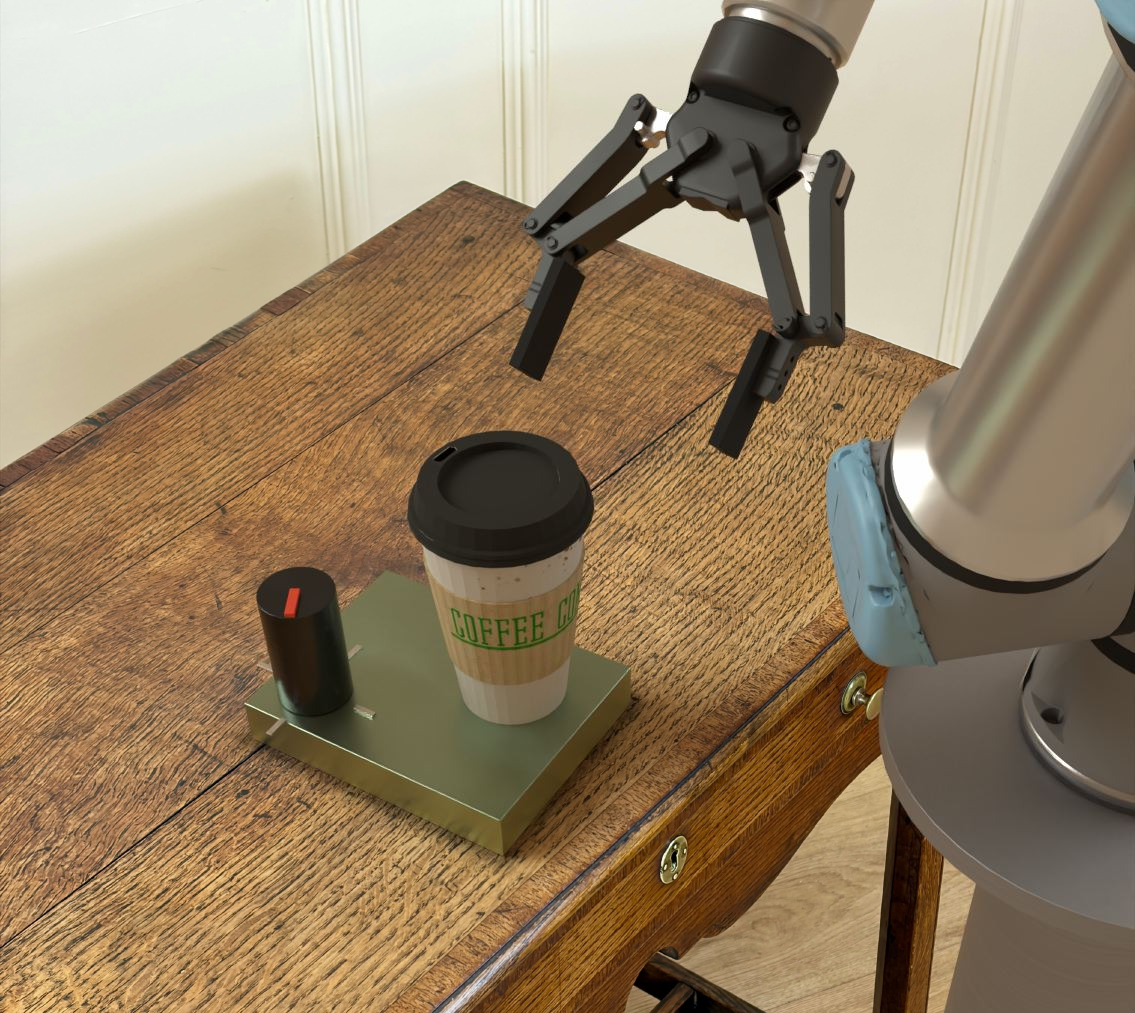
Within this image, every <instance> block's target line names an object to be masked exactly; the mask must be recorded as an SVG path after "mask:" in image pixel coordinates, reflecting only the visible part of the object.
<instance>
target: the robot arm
mask: <svg viewBox="0 0 1135 1013" xmlns="http://www.w3.org/2000/svg"><path fill="white" fill-rule="evenodd" d="M721 2H722V3H721V5H720V9H721V13H722V16H723V18H721V19H720V20H717V21H716V22H714V23H713V24H712V26H711V29H710V31H709V34H708V36H707V38H706V40H705V43H704V45H703V48H702V50H701V51H700V55H699V57H698V59H697V61H696V64H695V66H694V68H693V71H692V73H691V76H690V80H689V86H688V89H687V90H688V91H687V94H686V98H685V99H684V101H683V103H682V104H681V106H680V107H679V108H678V109H677V110H676V111H675V112H674V113H671V112H668V111H666V110H664V109H662V108H659V107H657V106H655V105H653V104H652V103H651V102H650V100H648V98H647V97H646V96H645V95H644V94H643V93H634V94H632V95H631V96H630V97H629V99H627V101H626V103H625V105H624V107H623V108H622V111H621V112H620V115H619V117H618V119H617V120H616V122H615V123H614V125H613V128H612V129H610V131H609V132H608V133H607V134H606V135H605V136H604V137H603V138H602V139H601V140H600V141H599V142H598V143H597V144H596V145H595V146H594V147H592V149H591V150H590V151H589V152H588V153H587V154H586V155H585V156H584V157H583V158H582V159H581V161H580V162H579V163H578V164H576V165H575V166H574V167H573V169H571V171H570V172H568V173H567V175H566V176H565V177H564V178H563V179H562V180H561V181H560V182H559V183H558V184H557V185H556V186H555V187H554V188H553V189H552V190H551V192H549V193H548V194H547V195H546V197H544V199H542V200H541V202H539V204H538V205H537V206H536V207H534V209H533V210H532V211H531V212H530V213H528V215H527V216H526V217H525V218H524V220H523V223H522V230H523V231H524V232H525V233H526V234H527V235H528V236H529V237H530V238H531V239H532V240H533V241H534V242H535V243H536V244H537V245H538V246H539V247H540V249H541V259H540V261H539V263H538V266H537V268H536V270H535V273H534V276H533V278H532V280H531V282H530V285H529V289H527V292H526V295H525V297H524V304H523V308H524V309H526V310H527V311H528V312H530V313H529V315H528V317H527V319H526V322H525V324H524V327H523V329H522V331H521V334H520V336H519V338H518V340H517V343H516V346H515V348H514V350H513V353H512V354H511V357H510V360H509V361H508V365H509V366H510V367H512V368H514V369H515V370H517V371H519V372H520V373H522V374H524V375H525V376H527V377H528V378H530V379H532V380H535V381H538V382H540V383H541V382H542V380H543V378H544V376H545V373H546V371H547V369H548V366H549V363H550V361H551V359H552V357H553V354H554V352H555V349H556V347H557V345H558V343H559V340H560V337H561V336H562V333H563V331H564V330H565V329H564V328H565V326H566V324H567V321H568V319H569V317H570V314H571V313H572V310H573V308H574V305H575V303H576V300H577V298H578V296H579V293H580V291H581V290H582V287H583V284H584V282H585V279H586V276H585V275H584V274H583V273H582V272H581V269H579V268H580V267H579V265H580V264H582V263H583V262H585V261H587V260H588V259H589V258H591V257H593V256H594V255H595V254H598V253H599V252H600V251H602V250H604V249H605V248H606V247H608V246H609V245H611V244H613V243H614V242H617V240H619V239H620V238H622V237H623V236H625V235H627V234H628V233H629V232H631V231H632V230H634V229H636V228H637V227H639V226H640V225H642V224H643V223H645V222H646V221H649V219H651V218H652V217H655V215H657V214H659V213H660V212H662V211H663V210H666V209H669V210H670V209H675V208H676V207H678V206H679V205H681V204H683V203H684V202H686V203H687V204H688V206H690V207H691V208H692V209H696V210H699V211H702V212H716V213H718V214H720V215H722V216H723V217H724V218H725V219H727V220H730V221H732V222H737V223H740V222H741V220H743V219H745V220H746V222H747V223H748V227H749V230H750V235H751V240H752V242H753V246H754V250H755V255H756V259H757V262H758V266H759V270H760V274H761V279H762V281H763V282H762V283H763V286H764V289H765V294H766V298H767V302H768V305H769V309H770V314H771V317H772V321H773V323H771V324H770V326H771V328H772V330H774V332H775V333H774V334H773V333H772V332H770V331H767V330H765V329H763V328H762V329H761V328H758V329H757V331H756V333H755V335H754V338H753V340H752V342H751V344H750V346H749V349H748V351H747V353H746V356H745V358H744V359H743V362H742V364H741V366H740V369H739V371H738V374H737V376H736V378H735V380H734V382H733V385H732V387H731V389H730V391H729V394H728V396H727V398H726V401H725V403H724V405H723V407H722V409H721V411H720V414H719V415H718V419H717V421H716V423H715V425H714V427H713V430H712V432H711V434H710V436H709V438H708V440H707V444H708V445H709V446H712V447H713V448H714V449H716V450H717V451H719V452H720V453H722V454H723V455H724V456H727V457H729V458H731V459H733V460H738V459H739V457H740V455H741V452H742V450H743V448H744V446H745V444H746V441H747V439H748V437H749V434H750V433H751V430H752V428H753V425H754V423H755V421H756V419H757V417H758V415H759V412H760V410H761V408H762V405H763V403H764V402H767V403H768V404H771V405H776V404H777V403H778V401H779V400H780V399H781V398H782V396H783V394H784V393H785V390H786V387H787V386H788V383H789V380H791V377H792V375H793V372H794V370H795V368H796V366H797V363H798V361H799V359H800V356H801V355H802V354H803V353H804V351H806V350H807V349H809V348H813V347H827V348H829V349H837V348H840V347H841V346H842V345H843V344H844V343H845V341H846V336H847V335H846V242H845V241H846V240H845V239H846V238H845V237H846V236H845V235H846V233H845V231H846V230H845V229H846V228H845V226H846V225H845V224H846V222H845V211H846V208H847V204H848V201H849V199H850V195H851V193H852V190H853V187H854V183H855V180H856V174H855V171H854V170H853V168H851V166H850V165H849V163H848V161H847V160H846V159H845V157H844V156H843V155H842V154H841V152H840V151H839V150H837V149H834V148H833V149H829V150H827V151H825V152H824V153H823V154H822V155H819V154H813V153H808V150H809V146H810V143H811V141H812V140H813V139H814V138H815V137H816V135H817V133H818V132H819V130H820V127H821V125H822V122H823V121H824V119H825V116H826V113H827V112H828V109H829V107H830V105H831V102H832V100H833V97H834V95H835V93H836V91H837V88H838V86H839V84H840V78H839V74H838V70H839V69H841V68H843V67H846V65H847V64H848V63H849V60H850V58H851V55H852V53H853V52H854V49H855V46H856V44H857V42H858V40H859V37H860V36H861V33H862V31H863V28H864V27H865V25H866V21H867V19H868V18H869V15H870V13H871V10H872V9H873V6H874V4H875V2H876V0H722V1H721ZM1094 3H1095V4H1096V7H1097V8H1098V10H1099V15H1100V19H1101V23H1102V24H1101V25H1102V28H1103V32H1104V35H1105V37H1106V39H1107V42H1108V44H1109V47H1110V49H1111V51H1112V53H1111V54H1110V57H1109V59H1108V61H1107V63H1106V65H1105V68H1104V70H1103V71H1102V73H1101V75H1100V77H1099V80H1098V81H1097V83H1096V85H1095V88H1094V90H1093V92H1092V94H1091V96H1090V98H1089V101H1088V103H1087V105H1086V107H1085V108H1084V110H1083V113H1082V115H1081V117H1080V119H1079V121H1078V123H1077V125H1076V127H1075V130H1074V131H1073V134H1072V136H1071V138H1070V140H1069V142H1068V144H1067V146H1066V148H1065V150H1064V153H1063V155H1062V157H1061V159H1060V160H1059V162H1058V165H1057V167H1056V169H1055V171H1054V173H1053V175H1052V177H1051V180H1050V181H1049V184H1048V186H1047V188H1046V190H1045V192H1044V194H1043V196H1042V198H1041V200H1040V202H1039V204H1038V206H1037V209H1036V211H1035V213H1034V215H1033V217H1032V219H1031V221H1030V223H1029V224H1028V228H1027V229H1026V232H1025V233H1024V235H1023V237H1022V240H1021V242H1020V244H1019V246H1018V248H1017V249H1016V252H1015V254H1014V256H1013V258H1012V260H1011V262H1010V264H1009V267H1008V269H1007V271H1006V273H1005V275H1004V276H1003V279H1002V281H1001V283H1000V285H999V287H998V290H997V292H996V294H995V295H994V298H993V300H992V301H991V304H990V306H989V307H988V308H989V309H988V311H987V312H986V315H985V316H984V319H983V320H982V323H981V325H980V327H979V330H977V333H976V335H975V337H974V339H973V341H972V344H971V345H970V348H969V350H968V351H967V354H966V356H965V358H964V360H963V362H962V364H961V366H960V368H959V369H956V370H954V371H952V372H949V373H946V374H945V375H943V376H940V377H939V378H938V379H936V380H934V381H933V382H931V383H930V384H929V385H927V386H926V387H925V388H924V389H922V390H921V391H920V392H919V393H918V394H917V395H916V396H915V397H914V398H913V399H912V400H911V402H910V403H909V404H908V406H907V408H906V409H905V410H904V412H903V414H902V415H901V417H900V419H899V422H898V423H897V426H896V428H895V430H894V432H893V434H892V437H891V438H888V439H881V440H876V441H872V440H871V438H870V437H866V438H865V437H864V438H861V439H859V441H857V442H855V443H850V444H847V445H843V446H841V447H839V448H837V449H836V450H835V451H834V453H833V454H832V455H831V457H830V459H829V461H828V465H827V469H826V477H825V506H826V508H825V509H826V519H827V530H828V537H829V544H830V550H831V556H832V557H831V558H832V562H833V567H834V572H835V578H836V582H837V586H838V590H839V595H840V598H841V602H842V607H843V610H844V613H845V616H846V619H847V623H848V626H849V627H850V630H851V632H852V635H853V637H854V639H855V642H856V643H857V645H858V647H859V648H860V651H861V652H862V653H863V654H864V655H865V656H866V657H867V658H868V659H869V660H870V661H872V662H873V663H874V664H877V665H879V666H883V667H886V668H889V667H897V666H914V665H927V666H929V667H934V666H937V665H938V662H940V661H947V660H954V659H961V658H968V657H975V656H981V655H988V654H995V653H1002V652H1009V651H1016V650H1023V649H1029V648H1035V651H1036V648H1037V647H1041V648H1040V650H1039V651H1038V652H1037V654H1036V655H1035V657H1034V659H1033V661H1032V658H1033V656H1034V653H1035V651H1034V653H1033V655H1032V657H1031V659H1030V662H1029V664H1028V667H1027V669H1026V672H1025V674H1024V677H1025V678H1024V677H1023V679H1024V682H1023V686H1022V690H1021V694H1020V698H1019V704H1018V717H1019V724H1020V728H1021V731H1022V734H1023V737H1024V739H1025V741H1026V743H1027V745H1028V747H1029V749H1030V750H1031V752H1032V753H1033V755H1034V756H1035V758H1036V759H1037V760H1038V761H1039V762H1040V764H1041V765H1042V766H1043V767H1044V768H1045V769H1046V770H1047V771H1048V772H1049V773H1050V774H1051V775H1052V776H1054V777H1055V778H1056V779H1057V780H1058V781H1059V782H1061V783H1062V784H1064V785H1065V786H1066V787H1068V788H1069V789H1071V790H1072V791H1074V792H1076V793H1077V794H1079V795H1080V796H1082V797H1084V798H1086V799H1088V800H1090V801H1092V802H1094V803H1096V804H1099V805H1101V806H1103V807H1106V808H1109V809H1112V810H1114V811H1117V812H1120V813H1124V814H1128V815H1131V816H1135V0H1094ZM663 139H665V143H666V150H665V151H663V152H661V153H660V154H659V155H657V156H655V157H654V158H652V159H651V160H649V161H648V162H646V163H645V164H644V165H642V166H641V167H640V169H639V173H638V175H635V177H633V178H632V179H630V180H629V181H627V182H626V183H624V184H623V185H621V186H620V187H618V188H616V187H617V186H618V185H619V184H621V182H622V181H623V180H624V179H625V178H626V177H627V176H628V175H629V174H630V173H631V172H632V171H633V170H634V169H635V168H636V167H637V166H638V165H639V163H640V162H641V161H642V160H643V158H644V157H645V156H646V154H647V153H648V152H649V150H650V149H657V148H658V147H659V146H660V145H661V140H663ZM669 178H671V179H672V180H668V179H669ZM802 179H804V182H803V183H804V184H803V186H804V190H805V191H806V193H807V194H808V195H809V199H808V259H809V260H808V263H809V264H808V268H809V270H808V271H809V273H808V275H809V282H808V283H809V315H807V313H806V309H805V306H804V303H803V298H802V294H801V291H800V287H799V283H798V280H797V275H796V271H795V267H794V263H793V260H792V256H791V252H790V248H789V245H788V241H787V237H786V233H785V232H786V225H785V221H784V218H783V214H782V209H781V206H780V202H779V197H780V196H782V195H783V194H784V193H786V192H788V191H789V190H790V189H791V188H793V187H794V186H795V185H797V184H798V183H799V182H801V181H802ZM615 188H616V189H615ZM614 189H615V190H614ZM1031 661H1032V662H1031ZM1030 663H1031V664H1030ZM1023 679H1022V681H1023ZM1021 683H1022V682H1021ZM1020 685H1021V684H1020ZM1019 688H1020V687H1019ZM1018 690H1019V689H1018Z"/></svg>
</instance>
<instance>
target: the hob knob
mask: <svg viewBox="0 0 1135 1013" xmlns="http://www.w3.org/2000/svg"><path fill="white" fill-rule="evenodd" d="M255 600H256V605H257V609H258V614H259V618H260V623H261V627H262V632H263V636H264V641H265V643H266V649H267V654H268V657H269V658H268V659H269V663H270V666H271V667H272V671H273V673H272V676H274V680H275V685H276V689H277V693H278V698H279V700H280V702H281V704H282V705H283V706H284V707H285V708H286V709H288V710H289V711H291V712H293V713H296V714H300V715H307V716H314V715H321V714H325V713H328V712H331V711H333V710H335V709H337V708H339V707H340V706H342V705H343V704H344V703H345V702H346V701H347V700H348V698H349V697H350V695H351V693H352V690H353V681H352V675H351V670H350V664H349V659H348V653H347V647H346V642H345V636H344V630H343V625H342V619H341V614H340V613H341V609H340V602H339V597H338V591H337V585H336V583H335V580H334V579H333V577H331V576H330V574H328V573H327V572H326V571H324V570H322V569H319V568H315V567H311V566H293V567H292V566H291V567H287V568H284V569H281V570H277V571H276V572H273V573H272V574H269V576H267V577H266V578H265V579H264V580H263V581H262V582H261V583H260V584H259V585H258V588H257V590H256V593H255Z"/></svg>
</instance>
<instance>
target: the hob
mask: <svg viewBox="0 0 1135 1013" xmlns="http://www.w3.org/2000/svg"><path fill="white" fill-rule="evenodd" d="M340 614H341V619H342V625H343V630H344V636H345V642H346V647H347V653H348V659H349V664H350V670H351V675H352V681H353V690H352V693H351V695H350V697H349V698H348V700H347V701H346V702H345V703H344V704H343V705H342V706H340V707H339V708H337V709H335V710H333V711H331V712H328V713H325V714H321V715H314V716H307V715H300V714H296V713H293V712H291V711H289V710H288V709H286V708H285V707H284V706H283V705H282V704H281V702H280V700H279V698H278V693H277V689H276V685H275V680H274V676H273V675H272V676H271V677H270V678H269V679H268V680H267V681H266V682H265V683H264V684H263V685H262V686H261V687H260V688H259V689H258V690H256V691H255V692H254V693H253V694H252V695H251V696H250V697H248V698H247V700H246V701H245V702H244V703H243V705H244V708H245V713H246V717H247V721H248V725H249V728H250V732H251V733H250V734H251V737H252V739H253V740H255V741H257V742H259V743H261V744H264V745H266V746H268V747H270V748H272V749H275V751H276V750H277V751H279V752H281V753H283V754H285V755H287V756H289V757H291V758H293V759H296V760H298V761H300V762H302V763H304V764H306V765H309V766H311V767H313V768H315V769H317V770H318V771H321V772H323V773H325V774H328V775H330V776H332V777H334V778H336V779H338V780H340V781H342V782H344V783H347V784H349V785H351V786H353V787H355V788H357V789H360V790H361V791H364V792H366V793H368V794H370V795H372V796H374V797H376V798H379V799H381V800H383V801H385V802H386V803H389V804H391V805H394V806H395V807H398V808H399V809H402V810H404V811H406V812H408V813H410V814H412V815H414V816H416V817H419V818H421V819H424V820H425V821H427V822H429V823H432V824H434V825H436V826H438V827H440V828H442V829H444V830H446V831H448V832H451V833H452V834H455V835H457V836H460V837H461V838H463V839H466V840H468V841H470V842H472V843H473V844H476V845H479V846H480V847H482V848H485V849H487V850H489V851H491V852H493V853H495V854H497V855H500V856H502V857H503V856H505V855H506V853H507V852H508V851H509V850H510V849H511V847H512V846H513V845H514V844H515V843H516V842H517V840H519V838H520V837H521V835H523V833H524V832H525V830H526V829H528V827H529V826H530V825H531V823H532V822H533V821H534V820H535V818H536V817H537V816H538V815H539V814H540V813H541V811H543V809H544V808H545V807H546V806H547V804H548V803H549V802H550V801H551V799H552V798H553V797H554V796H555V795H556V794H557V792H559V790H560V789H561V787H562V786H563V785H564V784H565V782H566V781H567V780H568V779H569V778H570V777H571V776H572V775H573V773H574V772H575V771H576V769H578V767H579V766H580V765H581V764H582V762H584V760H585V759H586V757H588V756H589V754H590V753H591V752H592V751H593V749H594V748H595V747H596V746H597V744H598V743H599V742H600V741H601V740H602V738H603V737H604V736H605V735H606V734H607V733H608V731H609V730H610V729H611V728H612V726H613V725H615V723H616V722H617V721H618V719H619V718H620V717H621V716H622V715H623V713H624V712H625V711H626V710H627V709H628V708H629V707H630V705H631V704H632V668H631V667H630V666H628V665H626V664H623V663H620V662H619V661H615V660H614V659H611V658H608V657H605V656H603V655H601V654H598V653H596V652H593V651H590V650H588V649H585V648H583V647H581V646H578V645H576V644H574V646H573V651H572V653H571V654H570V663H569V672H568V681H567V689H566V694H565V697H564V699H563V700H562V702H561V704H560V705H559V706H558V707H557V708H556V709H555V710H554V711H553V712H551V713H550V714H549V715H547V716H545V717H543V718H541V719H539V720H536V721H533V722H530V723H525V724H519V725H505V724H497V723H493V722H489V721H487V720H484V719H482V718H480V717H478V716H477V715H475V714H474V713H473V712H472V711H471V710H470V709H469V708H468V707H467V706H466V704H465V702H464V701H463V697H462V694H461V690H460V686H459V683H458V679H457V675H456V671H455V667H454V664H453V662H452V660H451V658H450V657H449V653H448V650H447V646H446V642H445V639H444V635H443V631H442V628H441V624H440V620H439V617H438V613H437V609H436V605H435V602H434V598H433V594H432V591H431V587H430V585H426V584H423V583H422V582H421V583H420V582H419V581H416V580H414V579H411V578H409V577H406V576H404V575H402V574H398V573H396V572H393V571H392V570H389V569H385V570H384V571H383V572H382V573H381V574H380V575H379V576H378V577H377V578H376V579H374V581H372V583H370V585H368V586H367V587H366V588H365V589H364V590H363V591H362V592H361V593H359V595H358V596H357V597H355V598H354V599H353V600H352V601H351V602H350V603H349V604H348V605H347V606H346V607H344V608H343V609H342V611H340ZM256 667H257V668H260V669H262V670H264V671H266V672H269V673H271V674H273V671H272V667H271V664H268V663H266V662H263V661H262V660H260V661H259V662H258V663H257V664H256Z"/></svg>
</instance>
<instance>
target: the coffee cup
mask: <svg viewBox="0 0 1135 1013" xmlns="http://www.w3.org/2000/svg"><path fill="white" fill-rule="evenodd" d="M594 513H595V500H594V494H593V490H592V488H591V486H590V483H589V480H588V479H587V476H585V474H584V473H583V472H582V471H581V469H580V467H579V465H578V463H577V460H576V459H575V457H574V456H573V455H572V454H571V452H570V451H569V450H567V449H566V448H565V447H564V446H563V445H562V444H560V443H558V442H556V441H554V440H552V439H551V438H549V437H545V436H543V435H539V434H536V433H533V432H532V433H531V432H525V431H521V430H509V429H508V430H507V429H504V430H503V429H502V430H487V431H481V432H475V433H472V434H468V435H465V436H462V437H459V438H456V439H454V440H452V441H450V442H447V443H446V444H444V445H443V446H441V447H439V448H438V449H436V450H435V451H434V452H432V454H430V455H429V456H428V457H427V458H426V460H425V461H424V462H423V464H422V465H421V467H420V468H419V471H418V474H417V477H416V481H415V482H414V484H413V485H412V488H411V491H410V494H409V497H408V502H407V511H406V519H407V522H408V526H409V530H410V532H411V533H412V534H413V536H414V537H415V539H416V541H417V542H419V543H420V544H421V546H422V550H423V554H422V562H423V565H424V567H425V573H426V576H427V580H428V583H429V587H431V591H432V594H433V598H434V602H435V605H436V609H437V613H438V617H439V620H440V624H441V628H442V631H443V635H444V639H445V642H446V646H447V650H448V653H449V657H450V658H451V660H452V662H453V664H454V667H455V671H456V675H457V679H458V683H459V686H460V690H461V694H462V697H463V701H464V702H465V704H466V706H467V707H468V708H469V709H470V710H471V711H472V712H473V713H474V714H475V715H477V716H478V717H480V718H482V719H484V720H487V721H489V722H493V723H497V724H505V725H519V724H525V723H530V722H533V721H536V720H539V719H541V718H543V717H545V716H547V715H549V714H550V713H551V712H553V711H554V710H555V709H556V708H557V707H558V706H559V705H560V704H561V702H562V700H563V699H564V697H565V694H566V689H567V681H568V672H569V663H570V654H571V653H572V651H573V646H574V645H575V640H576V632H577V626H578V625H577V624H578V616H579V615H578V614H579V606H580V598H581V590H582V582H583V575H584V565H585V556H586V546H585V545H586V544H585V540H584V536H585V533H586V532H587V530H588V528H589V526H590V524H592V522H593V518H594Z"/></svg>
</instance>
